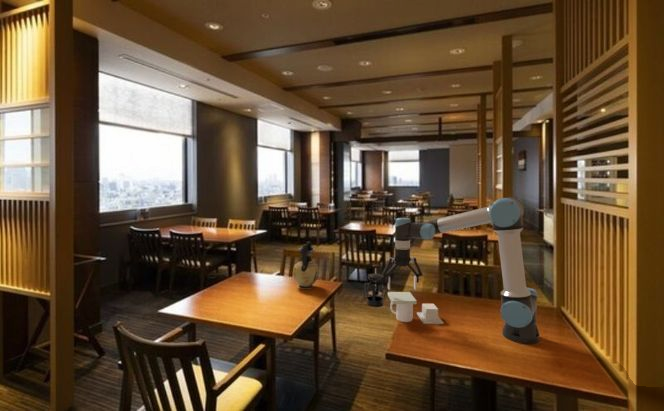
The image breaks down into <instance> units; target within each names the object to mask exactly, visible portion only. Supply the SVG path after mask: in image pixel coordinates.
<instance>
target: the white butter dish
mask: <svg viewBox="0 0 664 411" xmlns="http://www.w3.org/2000/svg"><path fill="white" fill-rule="evenodd" d="M416 314H417V316H418V318H419V319H420V321H421V322H422V323H423V325H444V321H443V320H442V319H441V317H440V316H439V308H438V307H437V306H436V305H435V304H434V303H421V311H420V312H419V311H417V312H416Z"/></svg>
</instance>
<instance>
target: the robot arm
mask: <svg viewBox="0 0 664 411" xmlns="http://www.w3.org/2000/svg"><path fill="white" fill-rule="evenodd" d="M524 213H525V206H524V205H523V203H522V201H520V200H519V199H518V198H516V197H512V196H511V197H510V196H509V197H503V198H498V199H497V200H495V201H494V202H492V203H490V204H488V206H485V207H481V208H478V209H472V210H469V211H465V212H461V213H457V214H453V215H448V216H445V217H441V218H435V219H432V220H427V221H424V222H411V219H410V218H409V217H397V218H396V219H395V226H394V230H395V231H394V232H395V234H394V235H395V239H394V242H395V243H394V247H395V248H394V257H391V256H389V257H388V260H387V262H386V265H385V267H384V269H383V271H382V273H381V274H382V275H383V277H385V283H386V284H387V290H388V291H390V290H391V274H393V272H394V271H395V270H396V268H398V267H400V268H401V267H408V268H409V269H410V270H411V272H412V273H413V274H414V275H413V290H414V291H415V290H417V289H418V288H417V287H418V286H417V284H419V280H420V277H422V276H423V272H422V270H421V268H420V267H419V264H418V262H417V258H416V257H415V256H413V257H411V249H410V248H411V239H412V238H413V239H421V240H423V239H424V240H433V239H434V236H435V235H440V234H444V233H449V232H453V231H457V230H464V229H467V228H472V227H476V226H481V225H486V224H491V223H492V231H493V232H494V233H496V234H497V240H498V249H499V250H498V251H499V258H500V265H501V266H500V267H501V274H502V282H503V283H502V284H503V285H502V286H503V290H501V291H500V299H501V306H500V313H499V314H500V315H501V318H502V320H503V321H504V325H503V327H502V335H503V337H504V338H506V339H508V340H510V341H513V342H516V343H520V344H526V345H528V344H529V345H532V344H538V343H539V342H540V336H541V335H540V332H539V329H538V324H537V308H538V307H537V306H538V305H537V304H538V298H539V296H538V291H537V290H536V289H534V288H531V287H527V283H526V274H525V266H524V259H523V258H524V257H523V248H522V241H521V232H522V231H523V229H524V223H523V221H524V220H523V216H524ZM393 261H394V262H395V263H394V264H393V265H391V264H392V263H393ZM410 262H413V264H414V267H415V268H413V267H412V265H411V264H410ZM415 269H416V270H417V272H416V270H415Z"/></svg>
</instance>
